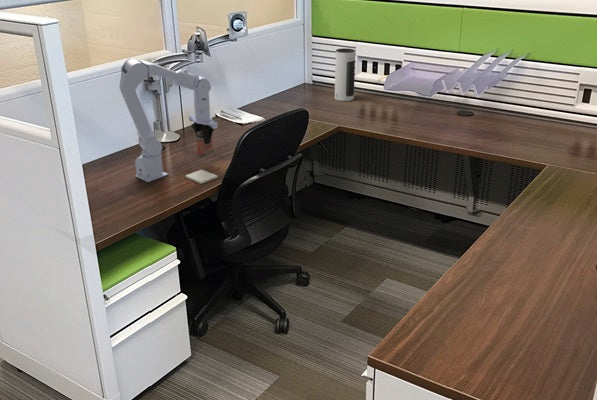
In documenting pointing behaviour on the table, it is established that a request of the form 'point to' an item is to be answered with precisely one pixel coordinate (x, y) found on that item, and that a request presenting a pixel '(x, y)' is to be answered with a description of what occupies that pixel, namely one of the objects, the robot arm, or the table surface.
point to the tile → (201, 176)
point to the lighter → (203, 145)
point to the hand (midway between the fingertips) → (204, 142)
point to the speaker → (344, 74)
